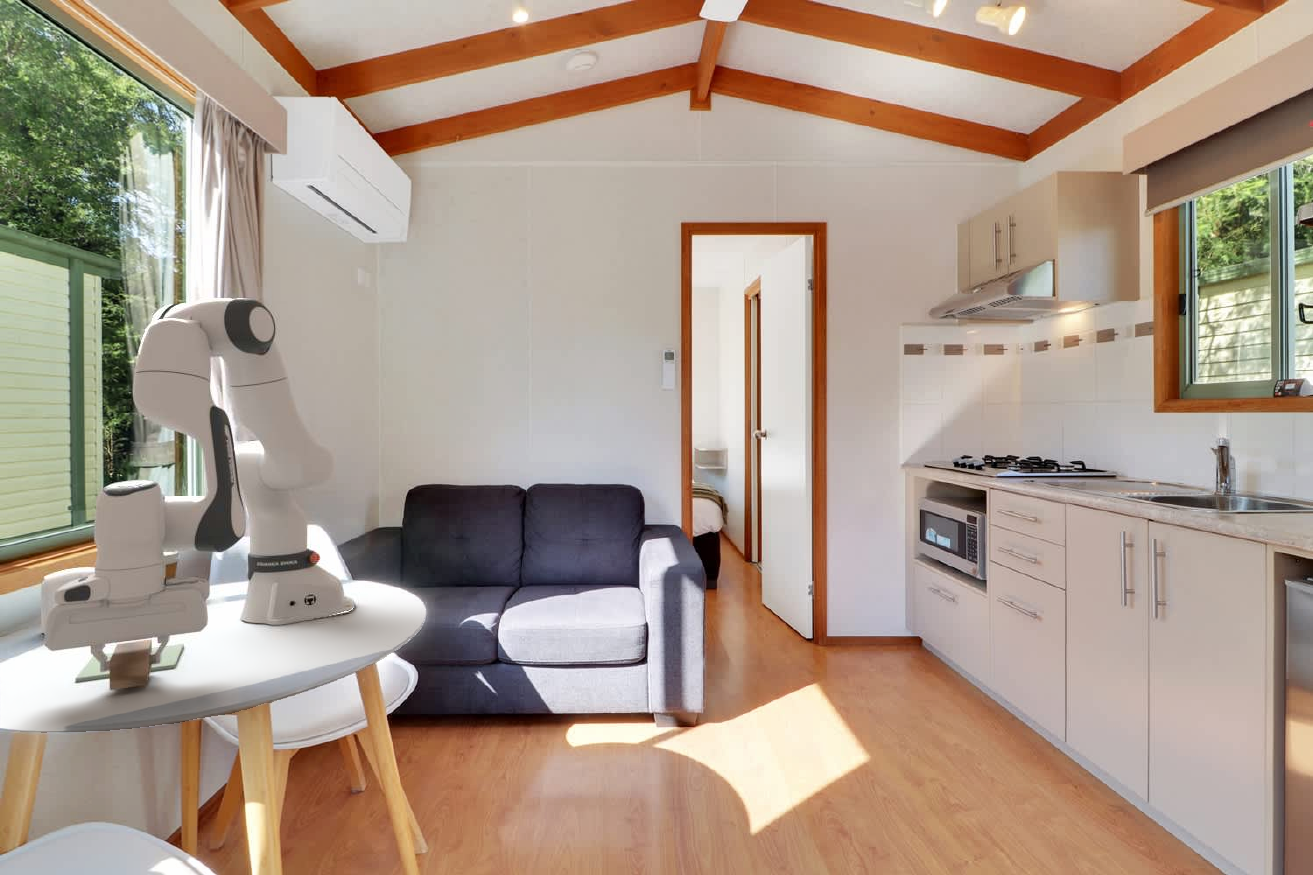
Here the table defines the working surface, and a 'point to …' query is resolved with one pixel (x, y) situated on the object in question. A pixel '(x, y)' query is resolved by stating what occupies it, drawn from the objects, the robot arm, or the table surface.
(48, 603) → the photo printer
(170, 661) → the rubber mat
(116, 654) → the box
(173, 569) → the disposable coffee cup
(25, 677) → the table surface
